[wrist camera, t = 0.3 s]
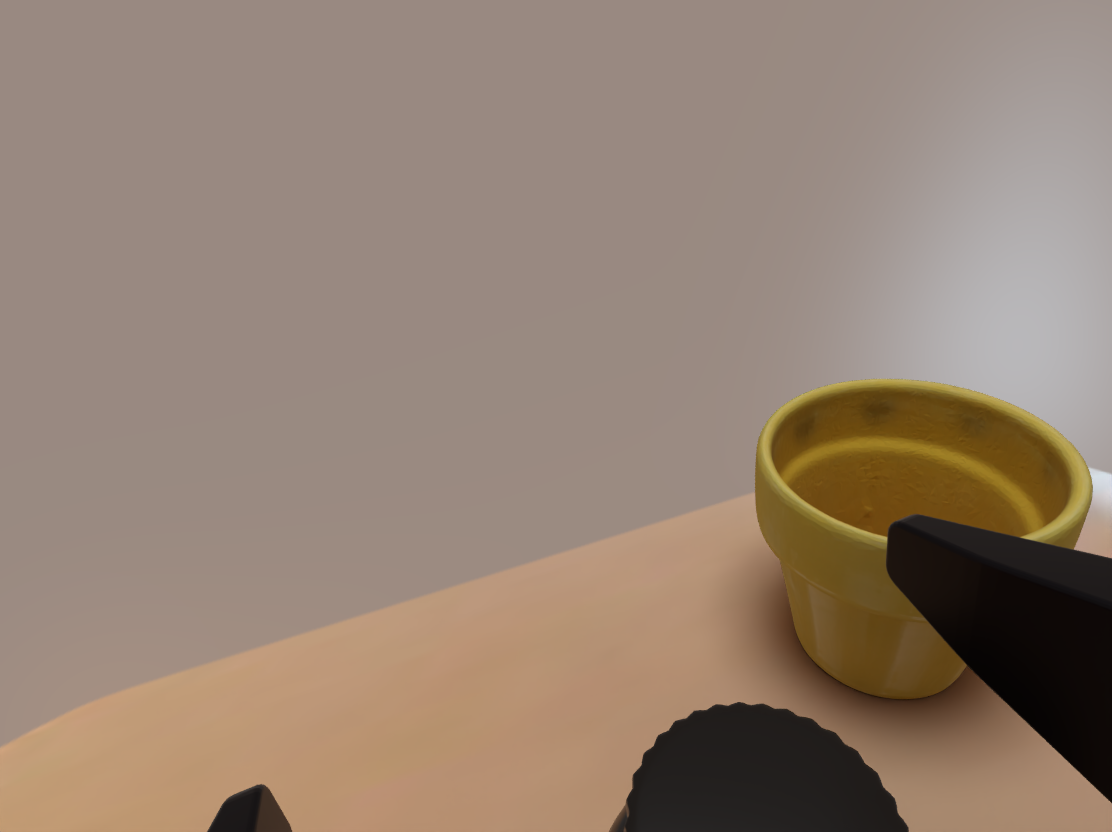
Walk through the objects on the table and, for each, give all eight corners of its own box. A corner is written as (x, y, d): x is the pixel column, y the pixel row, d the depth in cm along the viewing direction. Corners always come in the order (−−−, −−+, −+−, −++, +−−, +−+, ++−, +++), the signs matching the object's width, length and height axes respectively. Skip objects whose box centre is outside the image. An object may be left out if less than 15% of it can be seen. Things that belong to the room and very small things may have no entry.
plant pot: (1079, 760, 22) (1179, 549, 17) (767, 741, 24) (775, 548, 19) (966, 549, 31) (1010, 369, 26) (742, 549, 33) (743, 382, 28)
